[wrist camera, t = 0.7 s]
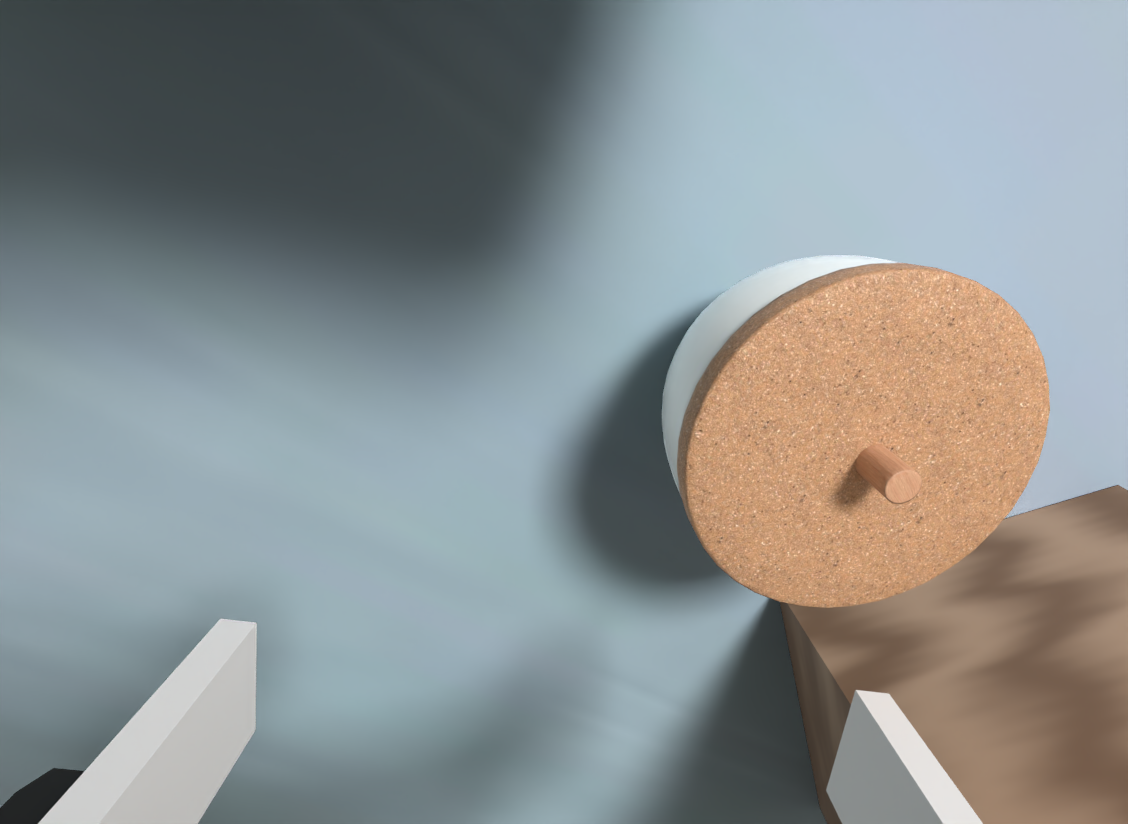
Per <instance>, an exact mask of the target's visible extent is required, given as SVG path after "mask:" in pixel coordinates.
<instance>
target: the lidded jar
mask: <svg viewBox="0 0 1128 824" xmlns="http://www.w3.org/2000/svg"><path fill="white" fill-rule="evenodd" d="M1049 412H1050V405H1049V384H1048V378H1047V373H1046V368H1045V363H1044V359H1043V356H1042V353H1041V351H1040V349H1039V346H1038V344H1037V342H1036V339H1035V337H1034V335H1033V333H1032V331H1031V330H1030V329H1029V327H1028V326H1027V324H1026V323H1025V322H1024V320H1023V319H1022V317H1021V316H1020V314H1019V313H1018V312H1017V311H1016V310H1015V309H1014V308H1013V307H1012V306H1010V305H1009V304H1008V303H1007V302H1006V301H1005V300H1004V299H1003V298H1002V297H1001V296H999V295H998V294H996V293H995V292H993V291H991V290H990V289H988V288H986V287H985V286H983V285H981V284H979V283H978V282H976V281H974V280H971V279H968V278H965V277H962V276H959V275H956V274H953V273H950V272H947V271H944V270H941V269H937V268H933V267H926V266H919V265H913V264H906V263H899V262H895V261H890V260H885V259H879V258H872V257H865V256H853V255H824V256H814V257H807V258H802V259H796V260H791V261H786V262H782V263H779V264H776V265H773V266H770V267H768V268H765V269H762V270H760V271H758V272H756V273H754V274H752V275H750V276H748V277H746V278H744V279H742V280H741V281H739V282H737V283H736V284H735V285H733V286H732V287H730V288H729V289H728V290H726V291H725V292H724V293H722V294H721V295H719V296H718V297H717V298H716V299H715V300H714V301H713V302H712V303H711V304H710V305H709V306H708V307H706V308H705V309H704V310H703V311H702V312H701V314H700V315H699V316H698V317H697V319H696V320H695V321H694V323H693V324H692V325H691V326H690V328H689V329H688V331H687V332H686V334H685V336H684V338H683V339H682V341H681V343H680V345H679V346H678V348H677V350H676V352H675V354H674V357H673V360H672V362H671V365H670V367H669V370H668V373H667V377H666V382H665V386H664V391H663V403H662V428H663V437H664V446H665V450H666V454H667V458H668V462H669V465H670V468H671V472H672V475H673V478H674V481H675V483H676V486H677V488H678V490H679V493H680V495H681V498H682V501H683V504H684V508H685V511H686V514H687V517H688V519H689V521H690V523H691V525H692V527H693V529H694V531H695V533H696V535H697V537H698V539H699V540H700V542H701V544H702V546H703V548H704V549H705V550H706V552H707V553H708V554H709V555H710V557H711V558H712V559H713V560H714V562H715V563H716V564H717V565H718V566H719V567H720V568H721V569H722V570H723V571H724V572H725V573H727V574H728V575H729V576H730V577H731V578H732V579H734V580H735V581H736V582H738V583H740V584H741V585H743V586H745V587H747V588H748V589H750V590H752V591H753V592H755V593H758V594H760V595H763V596H766V597H768V598H771V599H774V600H776V601H780V602H785V603H790V604H795V605H799V606H809V607H822V608H833V607H845V606H855V605H860V604H865V603H871V602H876V601H880V600H883V599H886V598H889V597H892V596H895V595H898V594H901V593H904V592H906V591H908V590H910V589H913V588H915V587H917V586H919V585H921V584H924V583H926V582H928V581H930V580H931V579H933V578H935V577H936V576H938V575H940V574H941V573H943V572H944V571H946V570H948V569H949V568H951V567H952V566H954V565H955V564H956V563H958V562H959V561H960V560H962V559H963V558H964V557H966V556H967V555H968V554H970V553H971V552H972V551H974V550H975V549H976V548H977V547H978V546H979V545H980V544H981V543H982V542H983V541H984V540H985V539H986V538H987V537H988V536H989V535H990V534H991V533H992V532H993V531H994V530H995V529H996V528H997V526H998V525H999V524H1000V523H1001V522H1002V521H1003V519H1004V518H1005V517H1006V516H1007V515H1008V513H1009V512H1010V511H1011V510H1012V508H1013V507H1014V505H1015V503H1016V502H1017V500H1018V499H1019V497H1020V495H1021V494H1022V492H1023V491H1024V489H1025V487H1026V486H1027V484H1028V481H1029V479H1030V477H1031V475H1032V473H1033V471H1034V469H1035V467H1036V465H1037V463H1038V460H1039V457H1040V453H1041V450H1042V447H1043V443H1044V440H1045V436H1046V430H1047V424H1048V418H1049Z"/></svg>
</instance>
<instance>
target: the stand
mask: <svg viewBox="0 0 1128 824" xmlns="http://www.w3.org/2000/svg"><path fill="white" fill-rule="evenodd" d="M780 605H781V611H782V616H783V621H784V626H785V631H786V636H787V641H788V646H789V652H790V657H791V662H792V667H793V672H794V677H795V682H796V688H797V693H798V698H799V703H800V708H801V713H802V718H803V724H804V729H805V734H806V739H807V744H808V749H809V754H810V759H811V765H812V770H813V775H814V780H815V785H816V790H817V795H818V801H819V806H820V809H821V811H822V813H823V815H824V817H825V820H826V822H827V824H842V822H841V820H840V818H839V816H838V814H837V812H836V810H835V808H834V806H833V804H832V802H831V800H830V798H829V795H828V793H827V791H826V789H827V785H828V782H829V779H830V775H831V772H832V768H833V765H834V762H835V758H836V755H837V751H838V748H839V744H840V741H841V738H842V734H843V731H844V727H845V724H846V721H847V717H848V714H849V710H850V707H851V703H852V700H853V697H854V693H855V690H861V691H870V692H879V693H888V694H890V696H891V697H892V698H893V700H894V701H895V703H896V704H897V705H898V707H899V708H900V709H901V711H902V712H903V714H904V715H905V716H906V718H907V719H908V721H909V722H910V723H911V725H912V726H913V727H914V729H915V730H916V732H917V733H918V734H919V736H920V737H921V738H922V740H923V741H924V743H925V744H926V745H927V747H928V748H929V750H930V751H931V752H932V754H933V755H934V756H935V758H936V759H937V761H938V762H939V763H940V765H941V766H942V768H943V769H944V770H945V772H946V773H947V774H948V776H949V777H950V779H951V780H952V781H953V783H954V784H955V785H956V787H957V788H958V790H959V791H960V792H961V794H962V795H963V797H964V798H965V799H966V801H967V802H968V803H969V805H970V806H971V808H972V809H973V810H974V812H975V813H976V814H977V816H978V817H979V819H980V820H981V821H982V823H983V824H1128V490H1126V489H1124V488H1122V487H1121V486H1119V485H1117V486H1113V487H1110V488H1107V489H1103V490H1100V491H1097V492H1093V493H1090V494H1087V495H1083V496H1080V497H1077V498H1073V499H1070V500H1066V501H1063V502H1060V503H1056V504H1053V505H1050V506H1046V507H1043V508H1040V509H1036V510H1033V511H1030V512H1026V513H1023V514H1020V515H1016V516H1013V517H1010V518H1006V519H1003V521H1002V522H1001V523H1000V524H999V525H998V526H997V528H996V529H995V530H994V531H993V532H992V533H991V534H990V535H989V536H988V537H987V538H986V539H985V540H984V541H983V542H982V543H981V544H980V545H979V546H978V547H977V548H976V549H975V550H974V551H972V552H971V553H970V554H968V555H967V556H966V557H964V558H963V559H962V560H960V561H959V562H958V563H956V564H955V565H954V566H952V567H951V568H949V569H948V570H946V571H944V572H943V573H941V574H940V575H938V576H936V577H935V578H933V579H931V580H930V581H928V582H926V583H924V584H921V585H919V586H917V587H915V588H913V589H910V590H908V591H906V592H904V593H901V594H898V595H895V596H892V597H889V598H886V599H883V600H880V601H876V602H871V603H865V604H860V605H855V606H845V607H833V608H822V607H809V606H799V605H795V604H790V603H785V602H780Z"/></svg>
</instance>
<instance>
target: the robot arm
mask: <svg viewBox="0 0 1128 824" xmlns="http://www.w3.org/2000/svg"><path fill="white" fill-rule="evenodd" d="M256 651H257V623H255V622H246V621H237V620H228V619H220V620H219V621H218V622H217V623H216V624H215V625H214V627H213V628H212V629H211V630H210V631H209V632H208V633H207V634H206V636H205V637H204V638H203V639H202V640H201V641H200V642H199V643H198V644H197V646H196V647H195V648H194V649H193V650H192V651H191V652H190V653H189V655H188V656H187V657H186V658H185V659H184V660H183V661H182V662H181V664H180V665H179V666H178V667H177V668H176V669H175V670H174V671H173V673H172V674H171V675H170V676H169V677H168V678H167V679H166V680H165V682H164V683H163V684H162V685H161V686H160V687H159V688H158V689H157V691H156V692H155V693H154V694H153V695H152V696H151V697H150V698H149V700H148V701H147V702H146V703H145V704H144V705H143V706H142V707H141V708H140V710H139V711H138V712H137V713H136V714H135V715H134V716H133V717H132V719H131V720H130V721H129V722H128V723H127V724H126V725H125V726H124V728H123V729H122V730H121V731H120V732H119V733H118V734H117V735H116V737H115V738H114V739H113V740H112V741H111V742H110V743H109V744H108V746H107V747H106V748H105V749H104V750H103V751H102V752H101V753H100V755H99V756H98V757H97V758H96V759H95V760H94V761H93V762H92V763H91V765H90V766H89V767H88V768H87V769H86V770H85V771H77V770H67V769H57V768H53V769H51V770H50V771H48V772H47V773H45V774H44V775H42V776H41V777H39V778H37V779H36V780H34V781H33V782H31V783H30V784H28V785H27V786H25V787H23V788H22V789H20V790H19V791H17V792H16V793H15V794H14V795H13V796H12V797H11V798H10V799H9V800H8V801H7V802H6V803H5V804H4V805H3V806H2V807H1V808H0V824H198V822H199V821H200V819H201V818H202V816H203V814H204V813H205V811H206V810H207V808H208V806H209V805H210V803H211V801H212V800H213V798H214V797H215V795H216V793H217V792H218V790H219V788H220V787H221V785H222V784H223V782H224V780H225V779H226V777H227V776H228V774H229V772H230V771H231V769H232V767H233V766H234V764H235V763H236V761H237V759H238V758H239V756H240V754H241V753H242V751H243V750H244V748H245V746H246V745H247V743H248V742H249V740H250V738H251V737H252V735H253V733H254V732H255V727H256ZM826 791H827V793H828V795H829V798H830V800H831V802H832V804H833V806H834V808H835V810H836V812H837V814H838V816H839V818H840V820H841V822H842V824H983V823H982V821H981V820H980V819H979V817H978V816H977V814H976V813H975V812H974V810H973V809H972V808H971V806H970V805H969V803H968V802H967V801H966V799H965V798H964V797H963V795H962V794H961V792H960V791H959V790H958V788H957V787H956V785H955V784H954V783H953V781H952V780H951V779H950V777H949V776H948V774H947V773H946V772H945V770H944V769H943V768H942V766H941V765H940V763H939V762H938V761H937V759H936V758H935V756H934V755H933V754H932V752H931V751H930V750H929V748H928V747H927V745H926V744H925V743H924V741H923V740H922V738H921V737H920V736H919V734H918V733H917V732H916V730H915V729H914V727H913V726H912V725H911V723H910V722H909V721H908V719H907V718H906V716H905V715H904V714H903V712H902V711H901V709H900V708H899V707H898V705H897V704H896V703H895V701H894V700H893V698H892V697H891V696H890V694H888V693H879V692H870V691H861V690H855V693H854V697H853V700H852V703H851V707H850V710H849V714H848V717H847V721H846V724H845V727H844V731H843V734H842V738H841V741H840V744H839V748H838V751H837V755H836V758H835V762H834V765H833V768H832V772H831V775H830V779H829V782H828V785H827V789H826Z"/></svg>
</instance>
